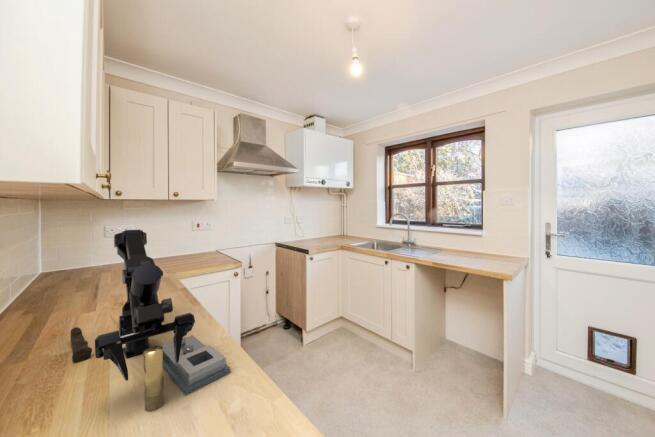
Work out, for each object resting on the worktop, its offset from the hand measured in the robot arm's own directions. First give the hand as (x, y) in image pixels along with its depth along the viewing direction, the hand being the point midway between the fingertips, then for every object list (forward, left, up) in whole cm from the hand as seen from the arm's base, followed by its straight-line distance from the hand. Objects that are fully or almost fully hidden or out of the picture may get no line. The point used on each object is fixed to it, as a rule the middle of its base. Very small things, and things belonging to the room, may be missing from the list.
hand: (153, 370), depth 55 cm
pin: (0, 0, -8) cm, 8 cm away
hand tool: (-43, -9, -8) cm, 45 cm away
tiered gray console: (-9, +11, -8) cm, 16 cm away
